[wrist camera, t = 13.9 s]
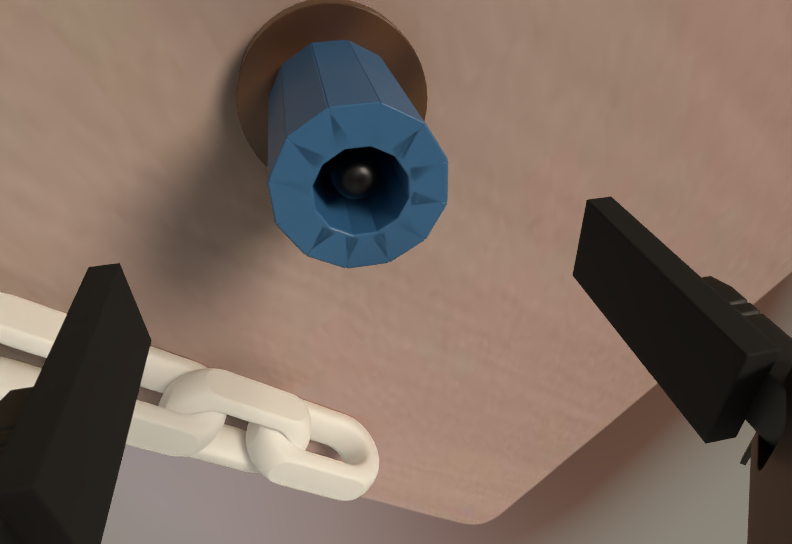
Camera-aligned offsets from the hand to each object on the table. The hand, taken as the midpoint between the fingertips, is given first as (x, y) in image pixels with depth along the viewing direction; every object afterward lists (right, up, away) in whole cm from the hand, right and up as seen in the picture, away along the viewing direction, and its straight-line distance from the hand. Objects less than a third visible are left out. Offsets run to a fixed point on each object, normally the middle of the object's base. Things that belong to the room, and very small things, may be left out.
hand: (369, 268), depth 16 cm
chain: (-14, -8, +24) cm, 28 cm away
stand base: (-3, +9, +14) cm, 17 cm away
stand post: (-2, +9, +13) cm, 16 cm away
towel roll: (-2, +9, +13) cm, 16 cm away
